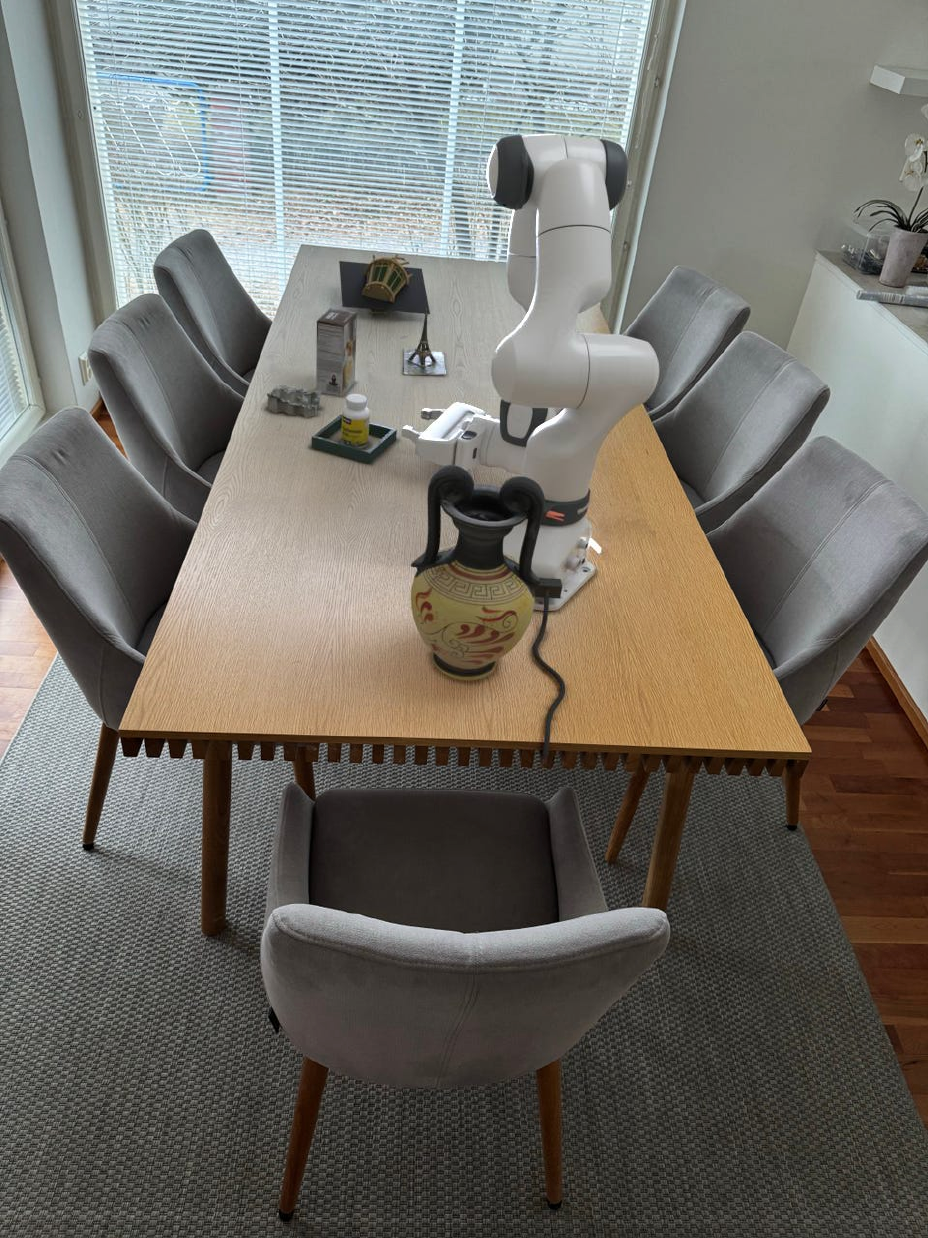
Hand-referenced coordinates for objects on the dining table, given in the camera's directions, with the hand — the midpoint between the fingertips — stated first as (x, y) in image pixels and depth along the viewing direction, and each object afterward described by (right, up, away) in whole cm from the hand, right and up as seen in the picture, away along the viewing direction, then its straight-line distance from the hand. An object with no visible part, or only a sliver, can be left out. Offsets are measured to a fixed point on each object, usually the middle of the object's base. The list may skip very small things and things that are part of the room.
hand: (412, 421), depth 180 cm
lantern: (-13, +49, +78) cm, 93 cm away
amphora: (+10, -44, -45) cm, 63 cm away
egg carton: (-26, +6, +17) cm, 32 cm away
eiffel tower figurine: (0, +23, +46) cm, 51 cm away
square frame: (-12, -3, +7) cm, 14 cm away
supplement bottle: (-12, -3, +7) cm, 14 cm away
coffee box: (-19, +14, +29) cm, 37 cm away
